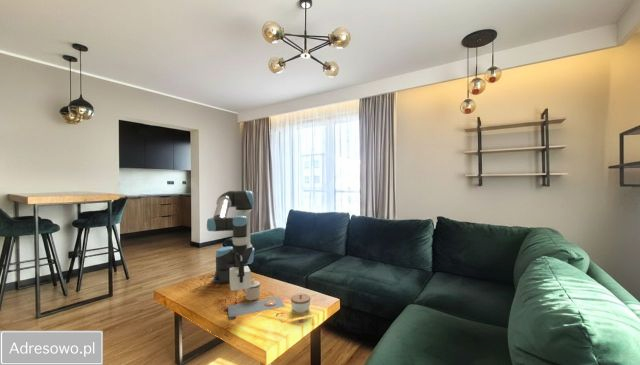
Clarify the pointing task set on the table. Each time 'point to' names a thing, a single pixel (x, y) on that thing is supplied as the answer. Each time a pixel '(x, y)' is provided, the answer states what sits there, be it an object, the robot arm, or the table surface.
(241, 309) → the board
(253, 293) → the teacup with lid
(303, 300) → the lidded jar
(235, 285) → the block
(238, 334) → the table surface
